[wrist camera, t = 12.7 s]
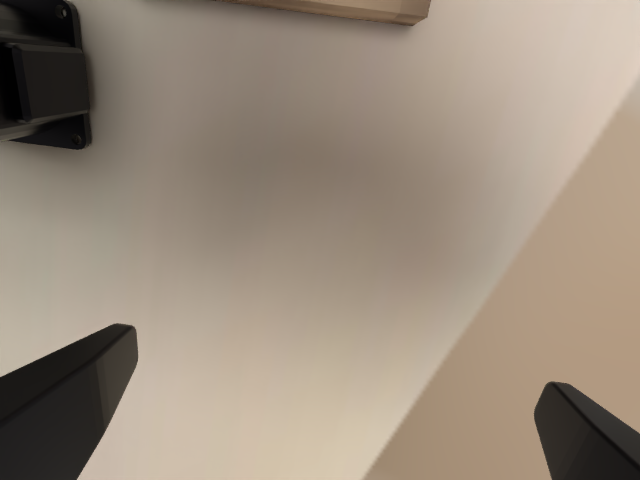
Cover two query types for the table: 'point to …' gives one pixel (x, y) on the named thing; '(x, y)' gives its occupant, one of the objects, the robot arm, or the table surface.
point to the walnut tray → (354, 8)
